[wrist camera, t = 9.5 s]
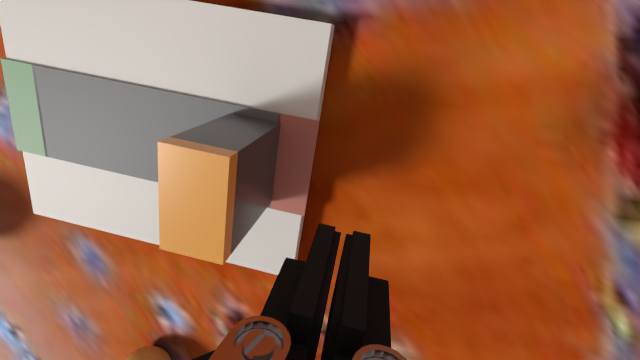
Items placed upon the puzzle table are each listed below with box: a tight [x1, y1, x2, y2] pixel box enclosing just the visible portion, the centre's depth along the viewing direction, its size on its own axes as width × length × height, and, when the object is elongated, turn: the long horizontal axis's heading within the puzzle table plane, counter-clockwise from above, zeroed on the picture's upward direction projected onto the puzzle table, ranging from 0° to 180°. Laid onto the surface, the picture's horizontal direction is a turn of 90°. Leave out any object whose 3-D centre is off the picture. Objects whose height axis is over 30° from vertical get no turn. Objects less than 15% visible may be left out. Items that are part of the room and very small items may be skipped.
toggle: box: [157, 113, 281, 265], centre depth 17 cm, size 3×5×7 cm, turn 171°
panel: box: [0, 0, 335, 275], centre depth 22 cm, size 20×16×1 cm
